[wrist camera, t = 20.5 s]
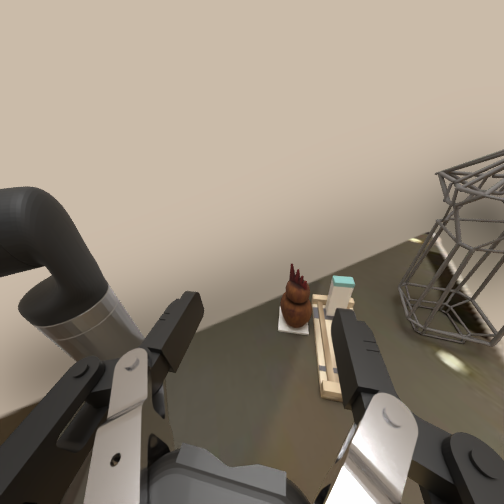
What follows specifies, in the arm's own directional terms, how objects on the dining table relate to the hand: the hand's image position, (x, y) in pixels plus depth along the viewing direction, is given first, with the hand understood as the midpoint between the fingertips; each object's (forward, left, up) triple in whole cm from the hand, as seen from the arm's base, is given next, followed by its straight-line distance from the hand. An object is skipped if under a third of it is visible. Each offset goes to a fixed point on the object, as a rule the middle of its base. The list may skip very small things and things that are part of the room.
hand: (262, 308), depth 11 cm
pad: (+4, +20, -28) cm, 35 cm away
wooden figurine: (+4, +20, -28) cm, 34 cm away
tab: (+13, +22, -27) cm, 37 cm away
